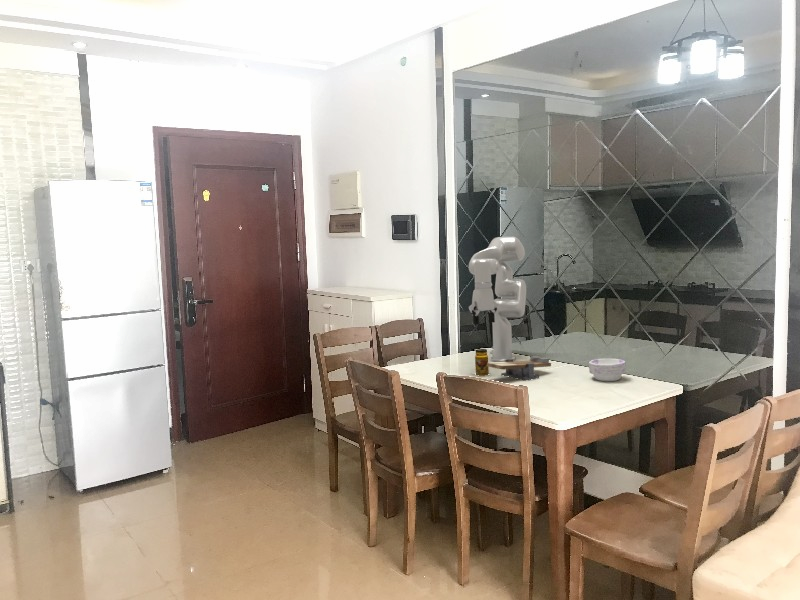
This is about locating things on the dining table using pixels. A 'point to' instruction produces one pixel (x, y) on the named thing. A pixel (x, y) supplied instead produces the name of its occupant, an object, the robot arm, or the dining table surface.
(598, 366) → the lavender white bowl
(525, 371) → the stand
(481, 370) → the condiment
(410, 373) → the dining table surface
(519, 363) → the beam
